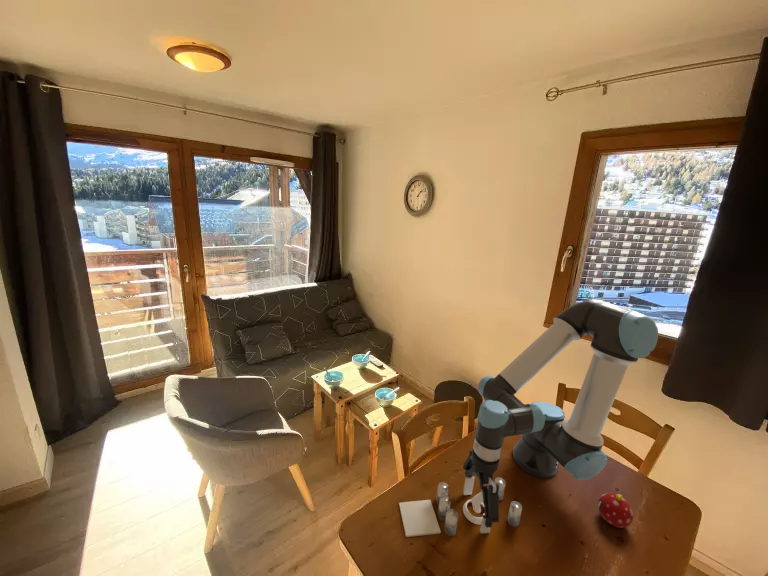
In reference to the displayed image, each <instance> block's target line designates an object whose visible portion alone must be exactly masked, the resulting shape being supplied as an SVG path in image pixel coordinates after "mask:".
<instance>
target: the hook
mask: <svg viewBox="0 0 768 576" xmlns="http://www.w3.org/2000/svg"><path fill="white" fill-rule="evenodd" d="M469 503H471V505H472V510H473V511H474V513H476V514H481V512H482V507H483V508H484V502H483V494H482V491H479V493H477V494H475V495H474V496H473V497H472V498H470V499H468V500H466V501H465V503H464V504H463V507H462V512H463V515H464V516H465V518H466V519H467V520H468V521H469V522H471V523H473V524H474V525H479V526H481V522H482V517H483V516H481V517H480V516H476V515H473V514H472V513H471V512H470V511H469V509H468V504H469Z"/></svg>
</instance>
